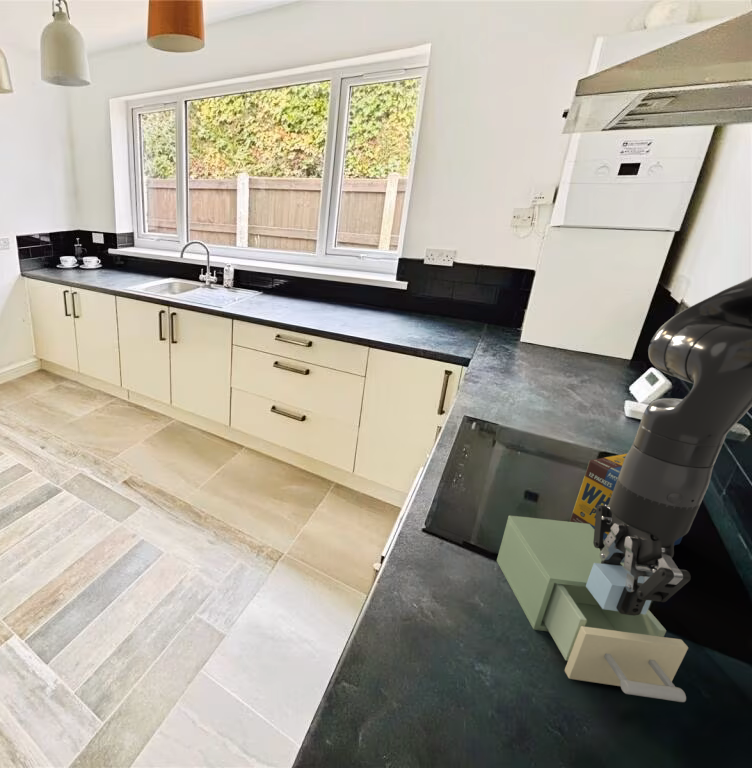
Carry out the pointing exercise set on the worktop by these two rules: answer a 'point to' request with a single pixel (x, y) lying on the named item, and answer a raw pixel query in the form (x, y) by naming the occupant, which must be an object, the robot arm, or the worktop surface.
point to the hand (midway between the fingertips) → (615, 598)
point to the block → (609, 585)
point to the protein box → (598, 489)
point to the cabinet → (545, 560)
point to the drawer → (613, 645)
